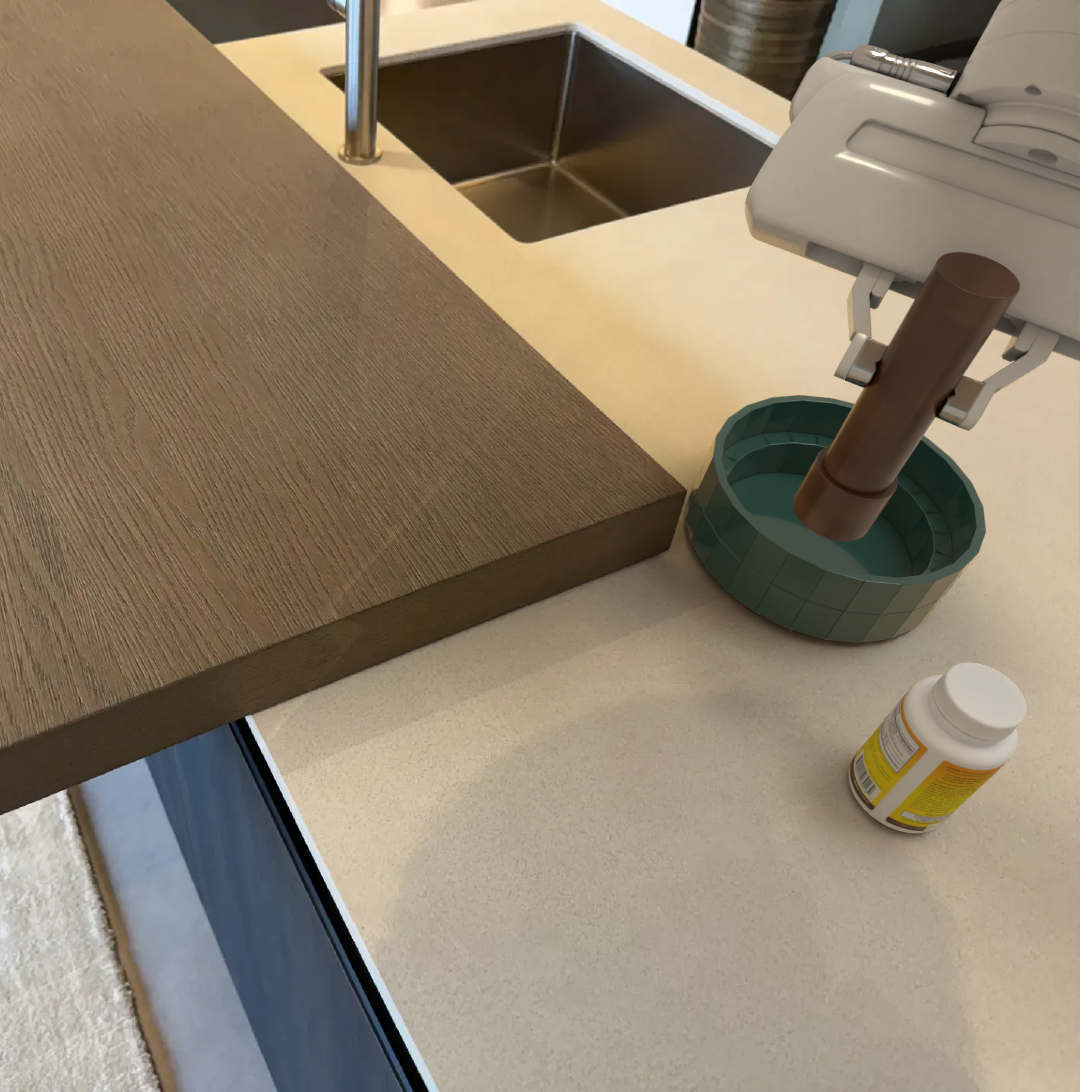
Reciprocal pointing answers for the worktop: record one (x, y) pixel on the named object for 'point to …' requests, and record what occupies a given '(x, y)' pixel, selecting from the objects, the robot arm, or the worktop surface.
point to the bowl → (810, 559)
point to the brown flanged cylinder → (904, 394)
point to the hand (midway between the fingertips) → (901, 401)
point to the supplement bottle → (938, 747)
